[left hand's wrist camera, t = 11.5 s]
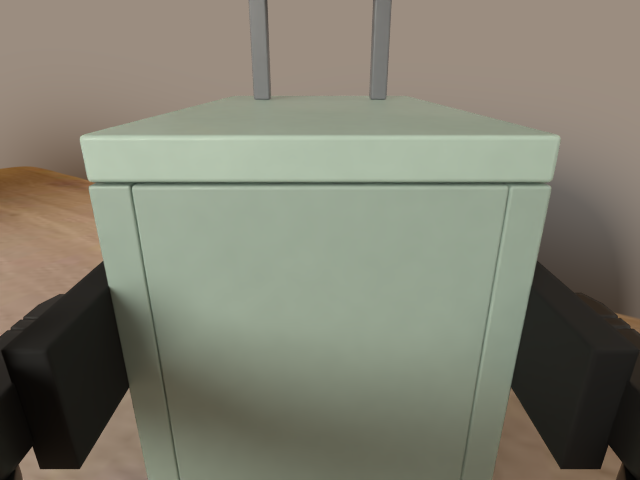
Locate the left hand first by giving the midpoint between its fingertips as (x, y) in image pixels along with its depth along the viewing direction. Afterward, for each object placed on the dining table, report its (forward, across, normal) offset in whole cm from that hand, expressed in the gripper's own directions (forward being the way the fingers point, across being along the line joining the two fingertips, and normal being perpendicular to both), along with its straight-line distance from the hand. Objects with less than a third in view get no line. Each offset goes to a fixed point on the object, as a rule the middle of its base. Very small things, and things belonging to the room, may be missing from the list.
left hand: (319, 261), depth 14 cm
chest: (+3, 0, -6) cm, 7 cm away
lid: (+3, 0, +4) cm, 5 cm away
